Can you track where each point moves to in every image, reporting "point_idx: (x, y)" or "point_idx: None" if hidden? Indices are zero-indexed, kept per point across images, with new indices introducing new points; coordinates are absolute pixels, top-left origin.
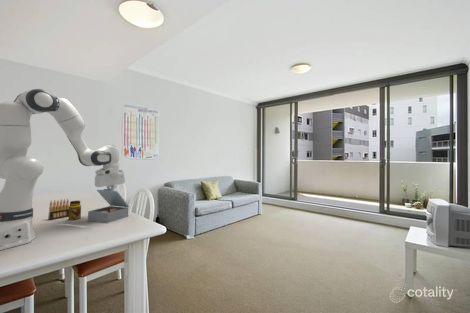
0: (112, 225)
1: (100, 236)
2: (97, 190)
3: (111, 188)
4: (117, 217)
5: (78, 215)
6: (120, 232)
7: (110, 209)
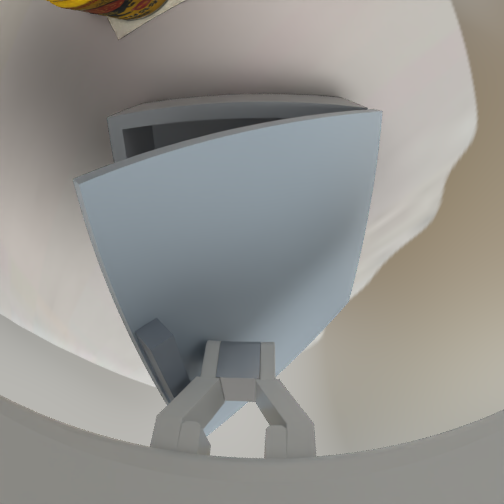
0: None
1: (81, 322)
2: (83, 195)
3: (263, 402)
4: None
5: (122, 14)
6: None
7: None
